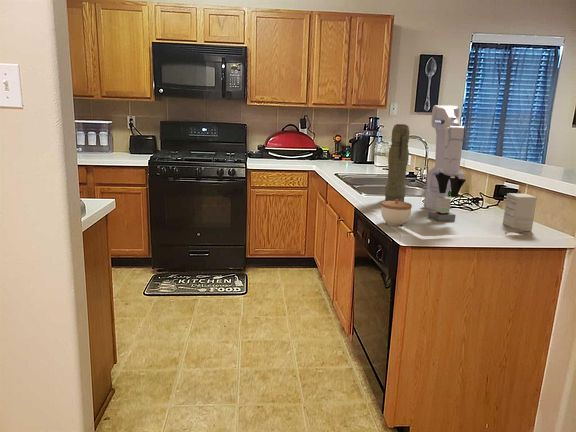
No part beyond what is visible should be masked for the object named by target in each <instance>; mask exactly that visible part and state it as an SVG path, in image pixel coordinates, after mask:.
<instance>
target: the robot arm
mask: <svg viewBox="0 0 576 432" xmlns="http://www.w3.org/2000/svg"><path fill="white" fill-rule="evenodd" d="M459 113H460V109H459V106H458V105H437V104H435V105H433V107H432V111H431V127H432V128H434V130H435V135H436V137H435V155H434V156H435V161H434V167H432V168H431V169H430V170H428V173H427V178H426V188H427V190H426V191H425V193H424V198H423V199H424V200H423V207H422V206H421V208H422V209H423V208H427V209H428V210H429V211H435V208H436V200H437V197H447V198H448V194H449V192H450V197H451V198H457V197H458V196H459V193H460V190H461V189H462V187H463V185H464V184H465V183H466V181H467V179H466V173H464V172H462V171H460V169H461V159H462V153H463V143H464V142H465V140H466V137H467V136H466V135H467V127H466V125H462V123H461V122H460V120H459Z"/></svg>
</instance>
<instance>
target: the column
mask: <svg viewBox="0 0 576 432" xmlns="http://www.w3.org/2000/svg"><path fill="white" fill-rule="evenodd" d="M451 201H452V199H451V198H450V197H448V196H447V197H437V200H436V208H435V210H434V211H436V212H439V213H449V212H450V207H451Z"/></svg>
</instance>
